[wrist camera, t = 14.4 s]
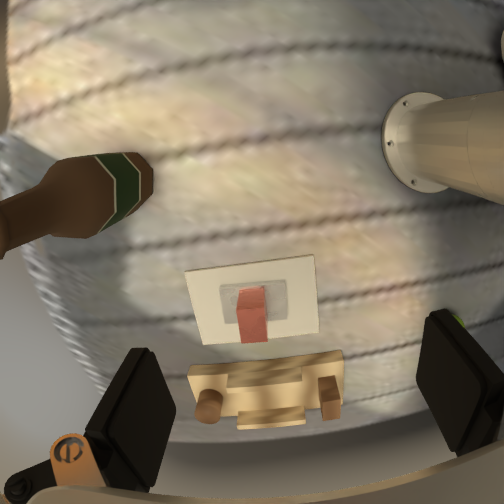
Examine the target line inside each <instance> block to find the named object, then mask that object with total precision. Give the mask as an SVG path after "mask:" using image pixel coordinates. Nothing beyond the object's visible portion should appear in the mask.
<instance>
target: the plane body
mask: <svg viewBox="0 0 504 504" xmlns="http://www.w3.org/2000/svg"><path fill="white" fill-rule="evenodd" d="M187 377H188V380H189V382H190V385H191V388H192V391H193V393H194V396H195V399H196V401H197V406H196V410H195V417H196V419H197V420H198V421H200V422H202V423H205V424H214V423H217V422H218V421H219V420H220V416H238V420H237V427H238V429H256V428H270V427H281V426H291V425H299V424H306V419H305V411H304V410H305V409H313V408H320V407H321V413H322V418H323V421H326V420H332V419H339V418H340V410H341V404H343V378H344V359H343V356H342V353H341V350H337V351H331V352H324V353H317V354H310V355H303V356H295V357H287V358H279V359H269V360H260V361H249V362H237V363H224V364H208V365H191V366H190V369H189V372H188V375H187Z"/></svg>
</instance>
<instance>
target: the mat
mask: <svg viewBox="0 0 504 504" xmlns="http://www.w3.org/2000/svg"><path fill="white" fill-rule="evenodd" d="M184 273H185V277H186V281H187V285H188V289H189V293H190V297H191V301H192V305H193V309H194V313H195V317H196V320H197V324H198V328H199V332H200V335H201V339H202V342H203V345H206V344H219V343H231V342H241V339H240V332H239V326H238V323H235V324H225V322H224V317H223V311H222V305H221V299H220V294H219V287H220V285H226V284H239V283H251V282H262V281H273V280H285V290H286V304H287V318H288V319H286V320H274V321H268V339H271V338H280V337H288V336H296V335H303V334H311V333H318V332H319V320H318V304H317V290H316V278H315V266H314V256H313V255H306V256H298V257H291V258H283V259H275V260H268V261H260V262H252V263H244V264H236V265H229V266H221V267H213V268H205V269H197V270H189V271H185V272H184Z"/></svg>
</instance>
